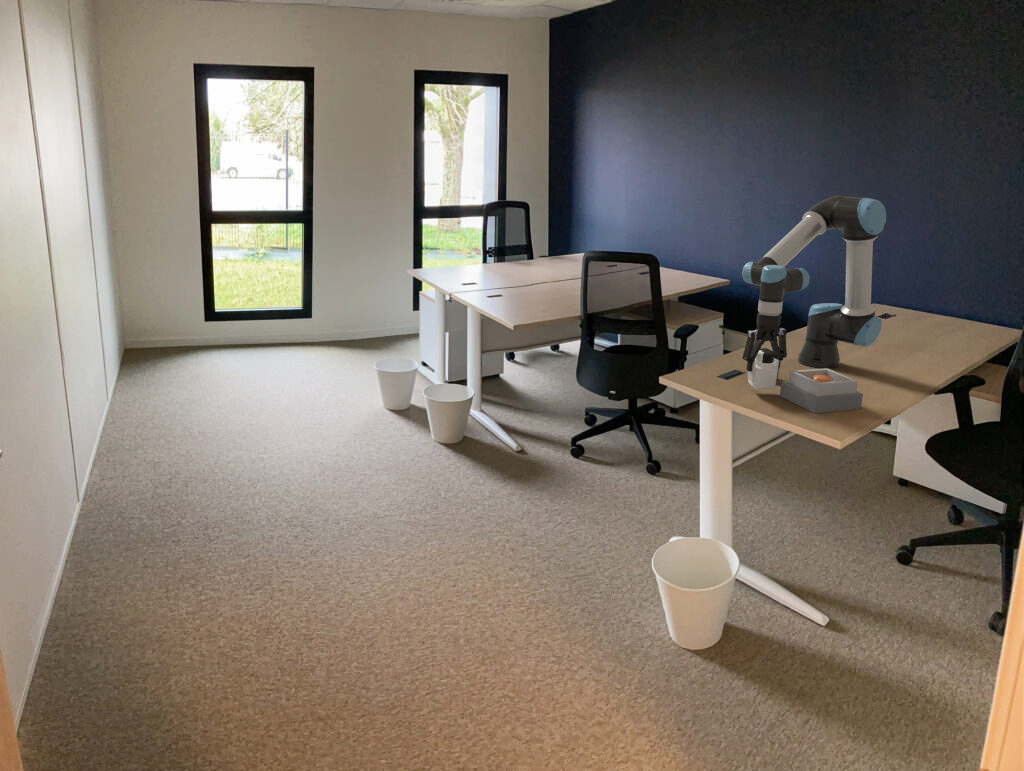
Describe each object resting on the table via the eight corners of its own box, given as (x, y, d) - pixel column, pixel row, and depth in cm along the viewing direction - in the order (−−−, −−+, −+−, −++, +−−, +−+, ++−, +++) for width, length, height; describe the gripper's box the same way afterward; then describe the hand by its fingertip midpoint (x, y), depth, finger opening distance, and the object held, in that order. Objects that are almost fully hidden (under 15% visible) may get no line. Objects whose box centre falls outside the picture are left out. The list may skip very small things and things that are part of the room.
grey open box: (824, 392, 286) (828, 366, 283) (860, 408, 270) (865, 382, 267) (779, 395, 280) (783, 370, 278) (814, 413, 264) (817, 386, 261)
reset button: (822, 389, 278) (824, 374, 276) (834, 394, 272) (836, 379, 271) (807, 390, 276) (809, 375, 274) (819, 396, 270) (821, 380, 269)
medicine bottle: (768, 382, 284) (772, 348, 281) (775, 389, 278) (779, 354, 274) (747, 382, 284) (751, 348, 280) (754, 389, 277) (758, 354, 274)
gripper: (789, 308, 279) (782, 373, 287) (735, 312, 273) (728, 378, 280) (803, 313, 273) (795, 379, 280) (748, 317, 266) (741, 385, 274)
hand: (762, 379), depth 280 cm, fingers closed on medicine bottle, 8 cm apart
